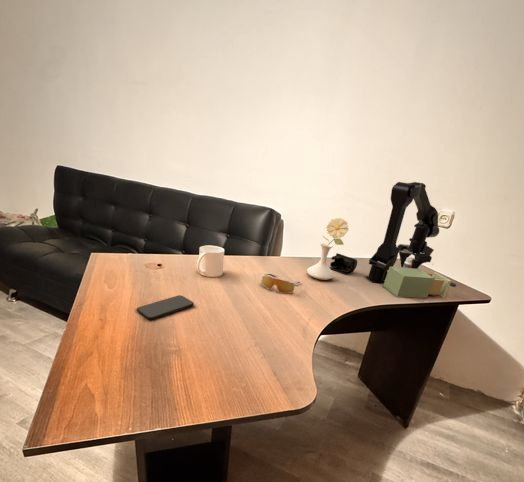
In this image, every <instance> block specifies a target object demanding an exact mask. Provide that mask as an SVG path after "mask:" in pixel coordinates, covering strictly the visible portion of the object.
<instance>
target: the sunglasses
mask: <svg viewBox="0 0 524 482" xmlns="http://www.w3.org/2000/svg"><path fill="white" fill-rule="evenodd" d="M301 284H302V281H298V282H297V283H295V282H293V281H292V282H291V281H289V280H286V279H282V278H279V277H276V275H275V274H273V273H265V274H262V275H261V285H262V286H263V287H264V288H266V289H267V290H269V291H272V290H273V289H274V288H275V287H276V290H277V292H278V293H279V294H293V293H294V291H295V288H296V287H298V286H301Z"/></svg>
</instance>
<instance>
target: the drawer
mask: <svg viewBox="0 0 524 482" xmlns="http://www.w3.org/2000/svg"><path fill="white" fill-rule="evenodd" d="M426 273H427V274H428V275H430V276H432V277H434V278H435V279H434V281H433V284H432V286H431V289H430V291H429V293H428V295H437V296H438V295H439V296H441V297H445V296H446V294H447V292H448V290H449V288H450V287H452V288H456V287H457V284H456V283H455V282H453V281H452V280H450V279H449V278H448V277H445V276H443V275H442V274H440V273H438V272H435V271H434V272H433V273H432V272H426Z"/></svg>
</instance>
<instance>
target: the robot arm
mask: <svg viewBox="0 0 524 482" xmlns="http://www.w3.org/2000/svg"><path fill="white" fill-rule="evenodd" d="M426 187H427V185H426V184H425V183H423V182H419V181H418V182H417V181H413V182H403V181H397V182H396V183H395V184H394V185H392V188H391V191H390V192H391V193H390V198H389V199H390V203H391V206H392V208H391V211H390V216H389V218H388V224H387V227H386V231H385V235H384V238H383V242H382V243H381V244H380V245H379V246H378V247H377V250H376V252H375V253H374V254H373V255H372V256H371V257H370V258H369V260H368V265H371V266H370V269H369V273H368V275H366V276H365V277H366V279H368V280H369V281H370V282H372V283H376V284H384V282H385V279H386V276H387V273H388V270H389V267H395V264H396V262H397V259H398V258H399V261H400V267H401V268H402V267H403V265H404V262H405V261H406V259H407V257H410V256H414V257H413V258H414V259H412V266H411V268H414V269H419V267H420V266H421V265H423V264H426V263H431V262H432V253H433V252H434V250H435V249H433V248H432V247H430V246H429V245H428V242H427V241H426V240H427V239H428V238H429V239H430V238H435V237H438V235H439V234H440V228H439V212H438V211H437V209H436V207H434V206H433V205H432V204H431V201H430V199H429V197H428V192H427V191H426ZM413 202H414V204H415V207H416V209H417V212H416V213H415V214H416V215H415V216H416V220H417V221H418V222H417V223H415V224H414V225H413V226H414V228H415V229H414V231H413V233H412V237H409V239H408V241H410V242H409V244H405V243H404V244H403V243H399V244H398V245H397V242H398V238H399V234H400V231H401V227H402V224H403V220H404V216H405V213H406V209H407V208H408V207H409V206H410V205H411V204H412V203H413Z"/></svg>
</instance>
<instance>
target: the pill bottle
mask: <svg viewBox="0 0 524 482" xmlns="http://www.w3.org/2000/svg"><path fill="white" fill-rule="evenodd" d="M412 259H415V258H414V257H410V256H409V257H407V259H406V261H405V262H404V265H403V267H401V268H411V266H412Z"/></svg>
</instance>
